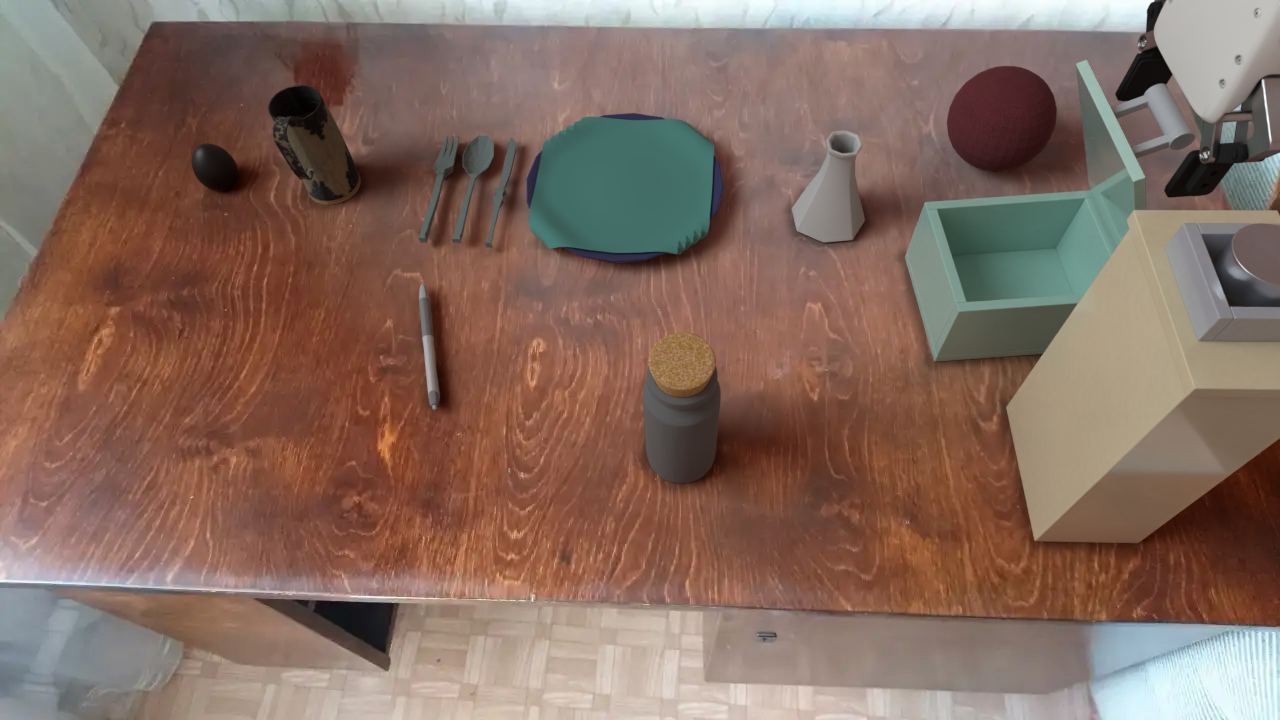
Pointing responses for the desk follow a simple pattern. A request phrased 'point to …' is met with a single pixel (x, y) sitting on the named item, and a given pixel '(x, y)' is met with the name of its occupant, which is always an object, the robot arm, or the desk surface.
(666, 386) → the bottle
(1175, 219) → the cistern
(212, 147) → the egg
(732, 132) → the desk surface
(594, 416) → the desk surface
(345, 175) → the mug
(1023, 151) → the decorative ball
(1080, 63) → the pale green box lid
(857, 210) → the flask
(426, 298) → the pen
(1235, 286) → the flush button
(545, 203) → the cutlery set
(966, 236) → the bowl box
